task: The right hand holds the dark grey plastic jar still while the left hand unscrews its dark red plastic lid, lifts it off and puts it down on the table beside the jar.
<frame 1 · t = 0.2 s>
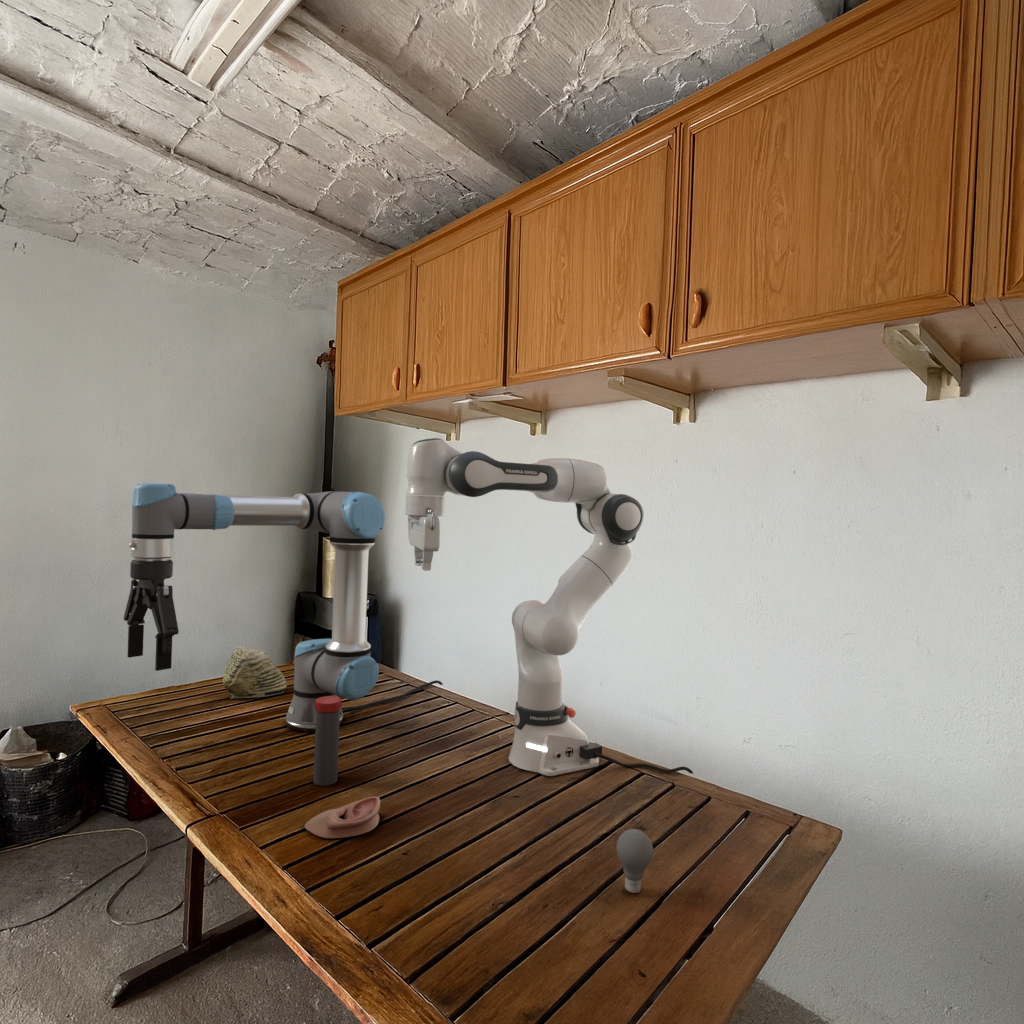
left hand: (148, 662, 129), 28 cm above the table, tool pointing down, fingers open, 13 cm apart
right hand: (422, 567, 147), 48 cm above the table, tool pointing down, fingers open, 8 cm apart
lid: (328, 701, 141), point 18 cm above the table, screwed on, not yet turned
fossil: (254, 694, 198), on the table
light bulb: (632, 891, 106), on the table
anatomical model: (342, 825, 123), on the table
jar: (325, 780, 141), on the table
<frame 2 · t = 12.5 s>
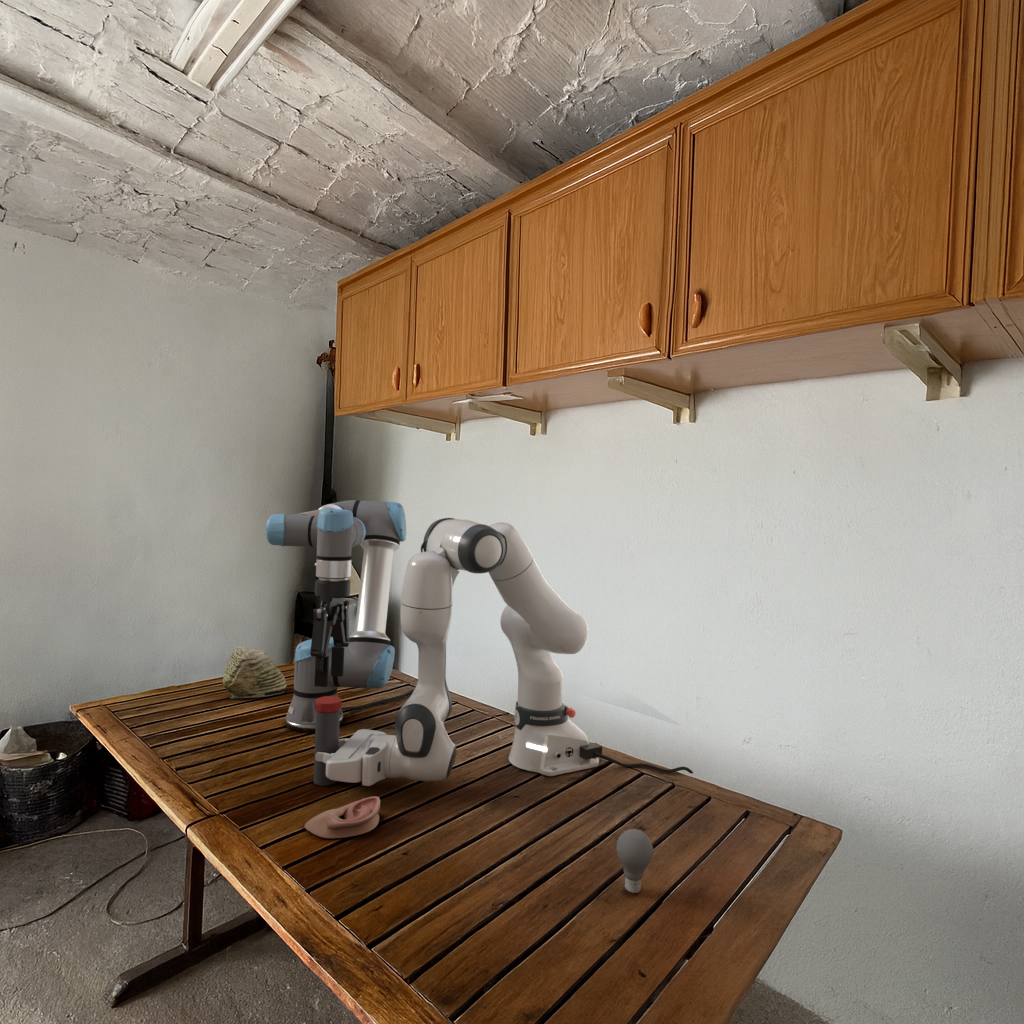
left hand: (329, 680, 141), 22 cm above the table, tool pointing down, fingers open, 8 cm apart
right hand: (322, 749, 141), 7 cm above the table, tool horizontal, fingers closed on jar, 5 cm apart
jar: (325, 780, 141), on the table, touching right hand
everything else where it was.
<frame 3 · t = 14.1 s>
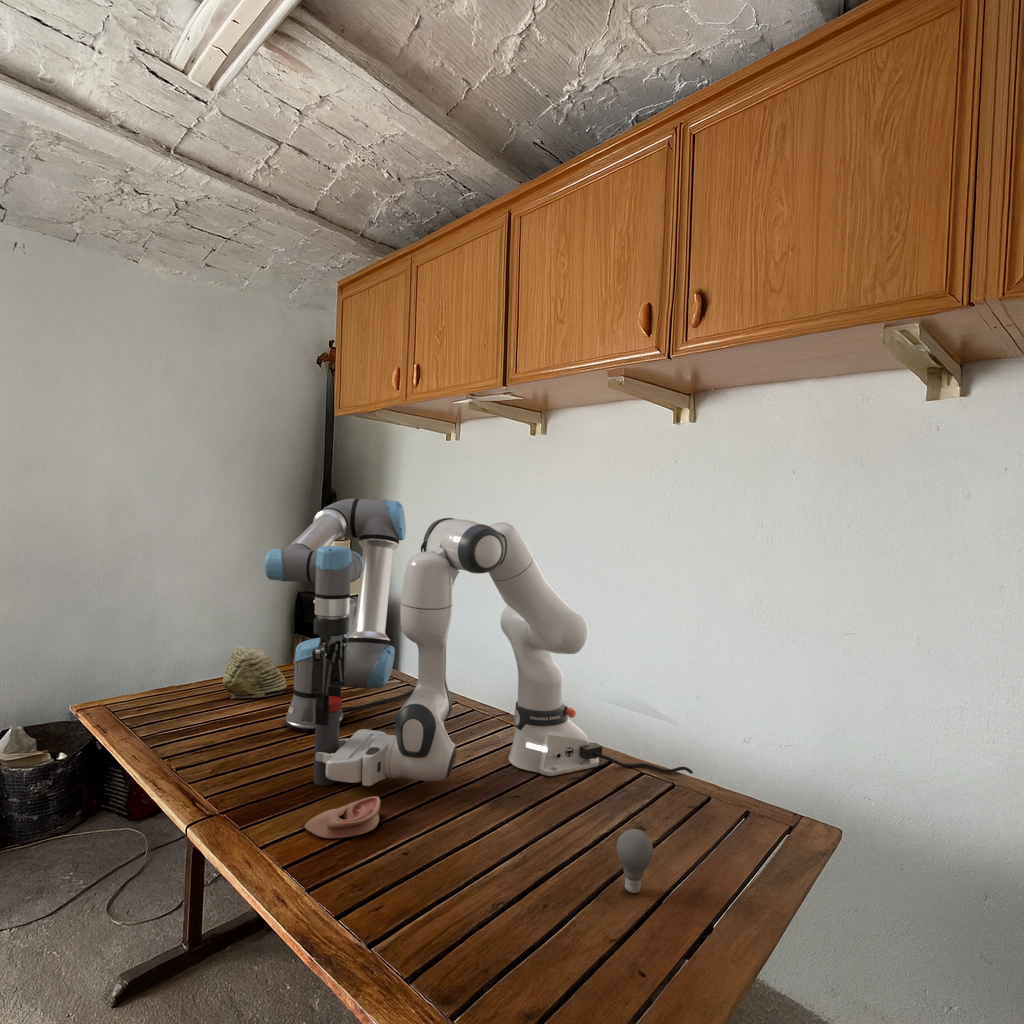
left hand: (327, 719, 141), 14 cm above the table, tool pointing down, fingers closed on lid, 5 cm apart
right hand: (322, 749, 141), 7 cm above the table, tool horizontal, fingers closed on jar, 5 cm apart
lid: (328, 701, 141), point 18 cm above the table, screwed on, not yet turned, touching left hand
jar: (325, 780, 141), on the table, touching right hand
everything else where it was.
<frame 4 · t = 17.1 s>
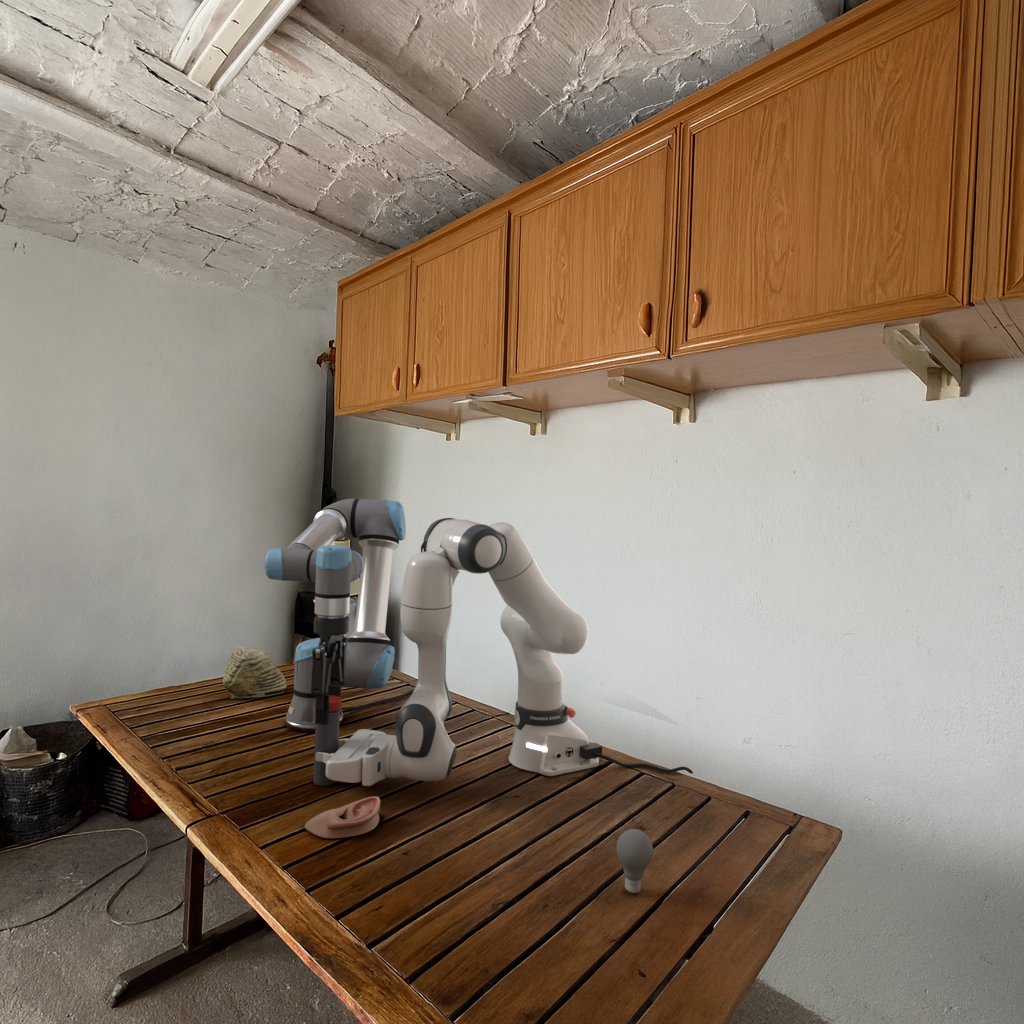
left hand: (327, 718, 141), 14 cm above the table, tool pointing down, fingers closed on lid, 5 cm apart
right hand: (322, 749, 141), 7 cm above the table, tool horizontal, fingers closed on jar, 5 cm apart
lid: (328, 700, 141), point 18 cm above the table, turned 88° so far, risen 0.1 cm, still on its thread, touching left hand
jar: (325, 780, 141), on the table, touching right hand
everything else where it was.
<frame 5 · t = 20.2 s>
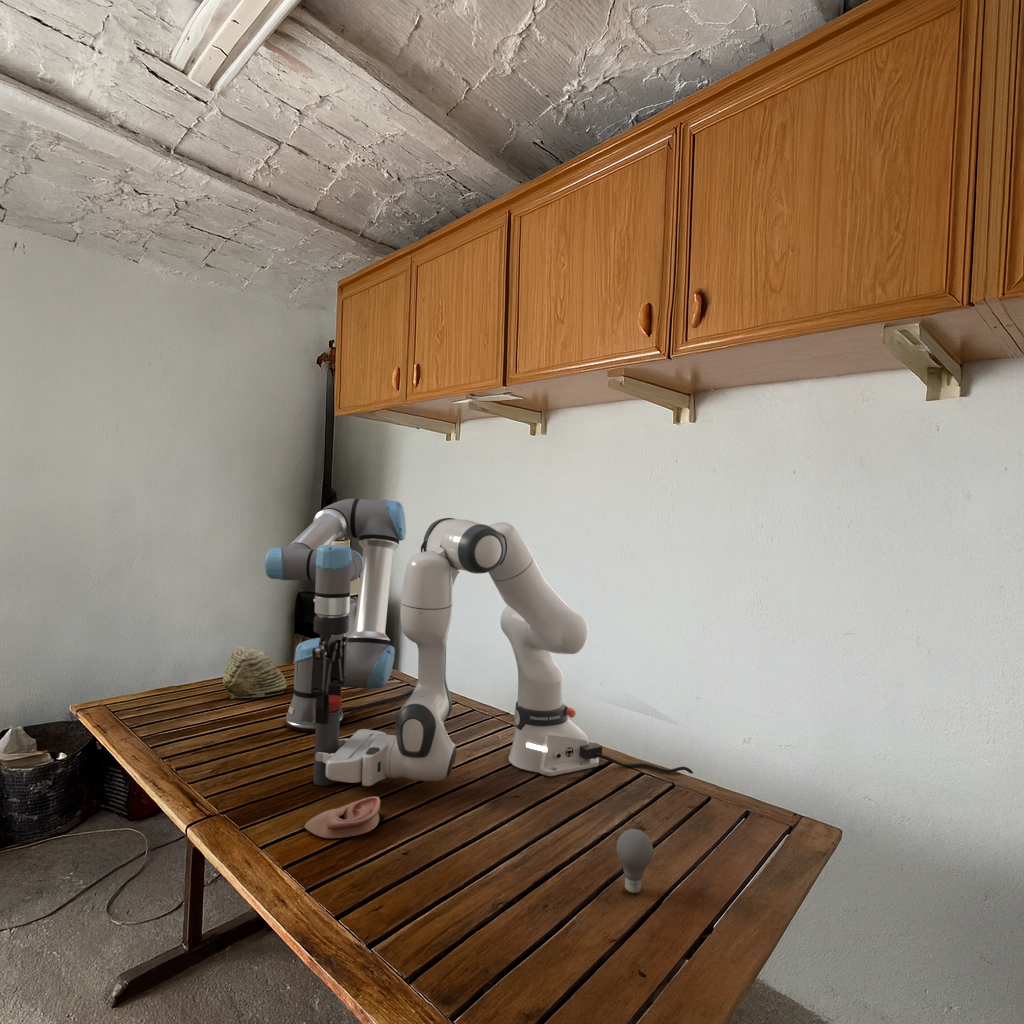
left hand: (327, 718, 141), 14 cm above the table, tool pointing down, fingers closed on lid, 5 cm apart
right hand: (322, 749, 141), 7 cm above the table, tool horizontal, fingers closed on jar, 5 cm apart
lid: (328, 700, 141), point 18 cm above the table, turned 176° so far, risen 0.3 cm, still on its thread, touching left hand
jar: (325, 780, 141), on the table, touching right hand
everything else where it was.
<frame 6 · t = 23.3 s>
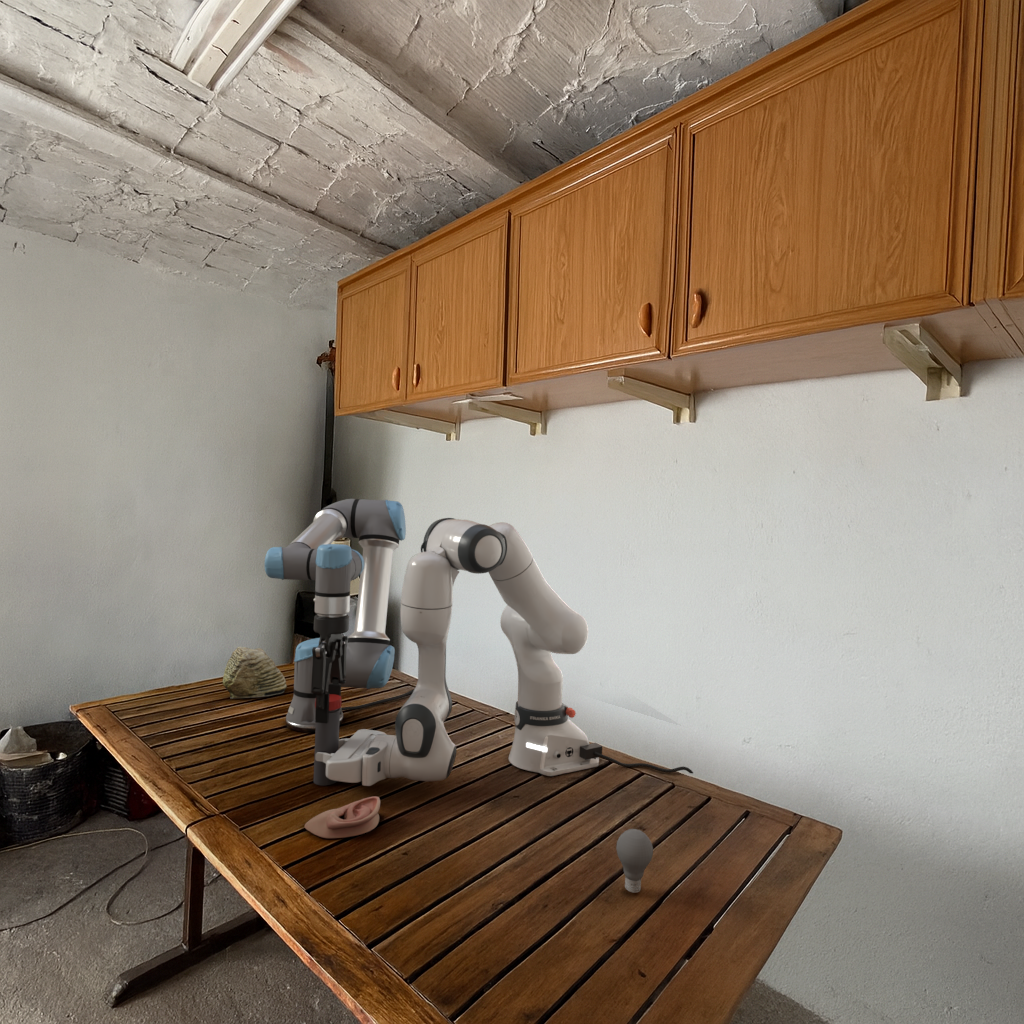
left hand: (327, 717, 141), 14 cm above the table, tool pointing down, fingers closed on lid, 5 cm apart
right hand: (322, 749, 141), 7 cm above the table, tool horizontal, fingers closed on jar, 5 cm apart
lid: (328, 699, 141), point 18 cm above the table, turned 264° so far, risen 0.4 cm, still on its thread, touching left hand
jar: (325, 780, 141), on the table, touching right hand
everything else where it was.
when the left hand's fingers open (0 cm above the table, at t = 30.2 s): lid drops 3 cm, point 2 cm above the table.
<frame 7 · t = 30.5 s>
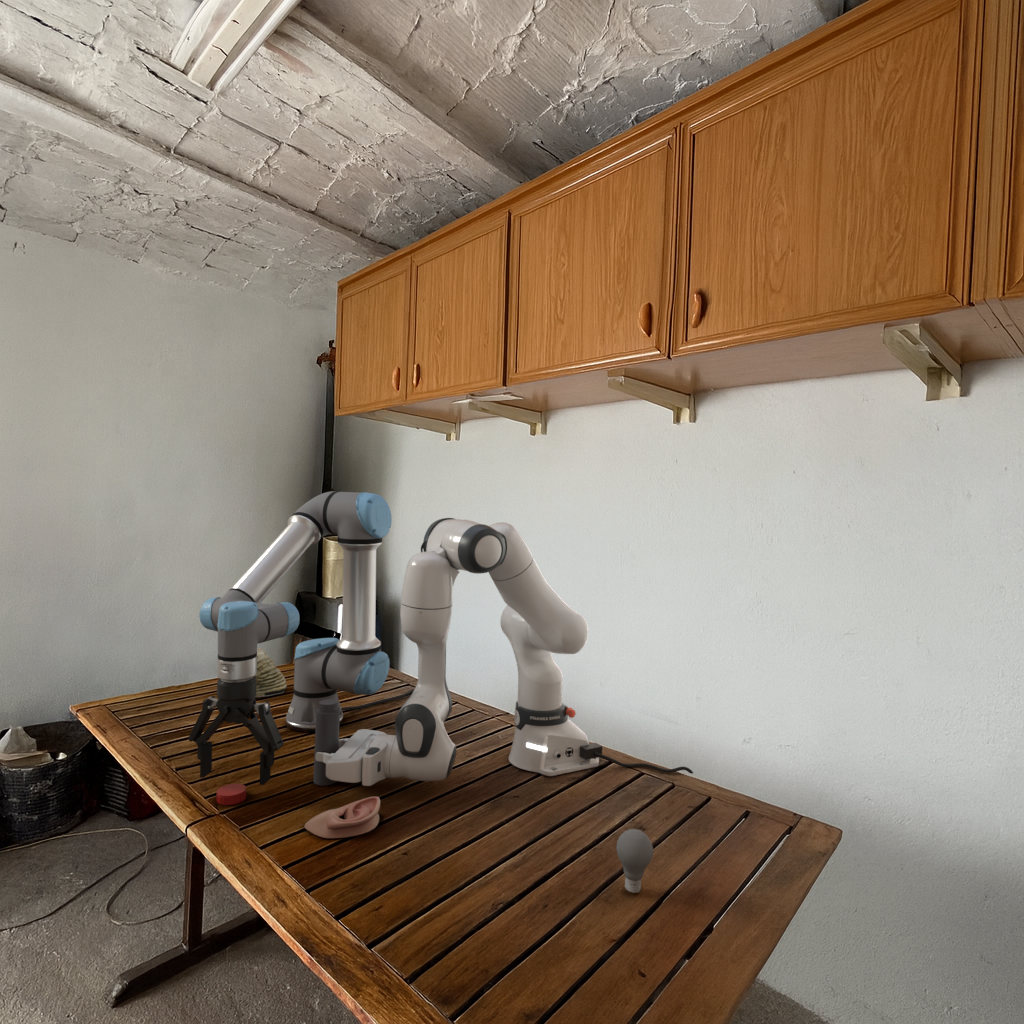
left hand: (235, 778, 132), 4 cm above the table, tool pointing down, fingers open, 13 cm apart
right hand: (322, 749, 141), 7 cm above the table, tool horizontal, fingers closed on jar, 5 cm apart
lid: (231, 791, 131), point 2 cm above the table, off its thread
jar: (325, 780, 141), on the table, touching right hand
everything else where it was.
when the right hand's fingers open (7 cm above the table, at t = 30.9 s): jar stays where it is, on the table.
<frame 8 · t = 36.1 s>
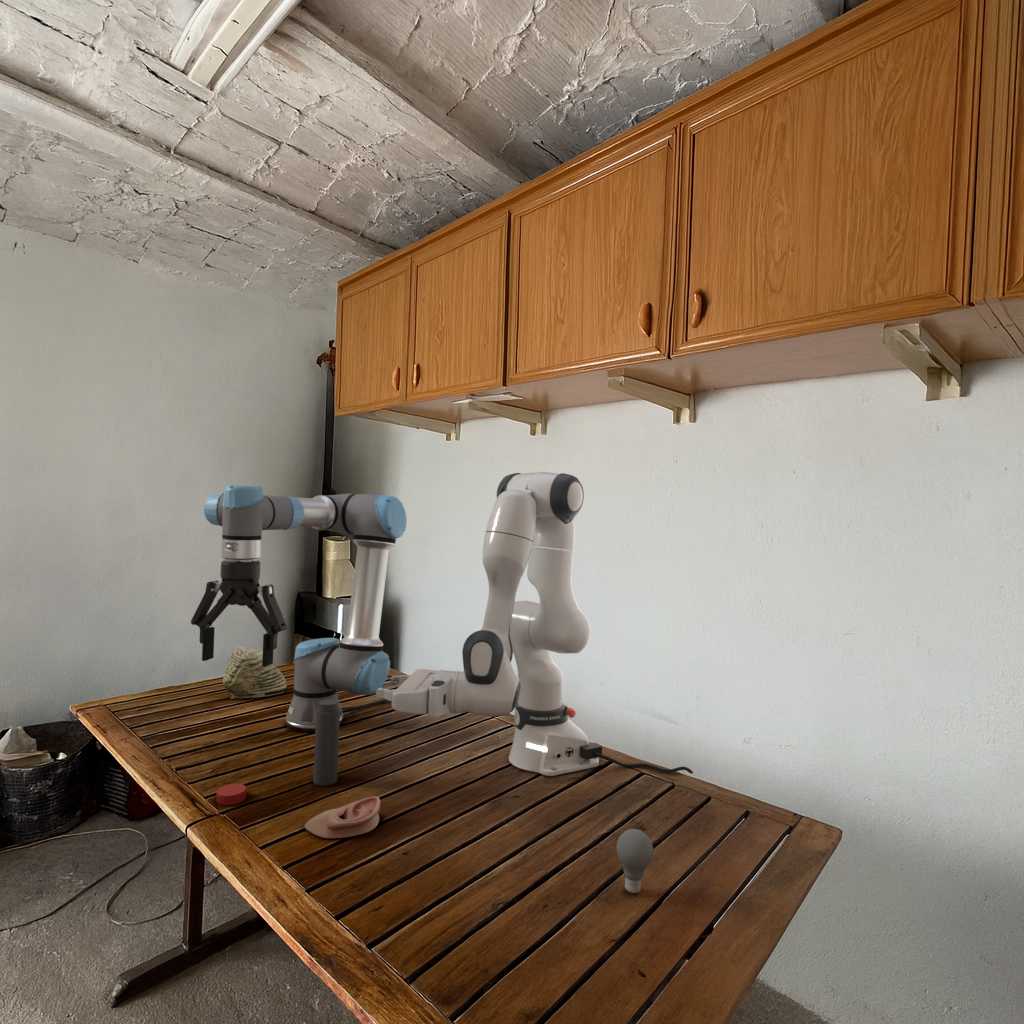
left hand: (237, 662, 131), 28 cm above the table, tool pointing down, fingers open, 13 cm apart
right hand: (384, 686, 140), 22 cm above the table, tool horizontal, fingers open, 8 cm apart
jar: (325, 780, 141), on the table
everything else where it was.
at the end: lid came off its thread; lid point 1.6 cm above the table; the left hand is holding nothing; the right hand is holding nothing; jar tilted 0°; jar moved 0.0 cm from its start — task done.
